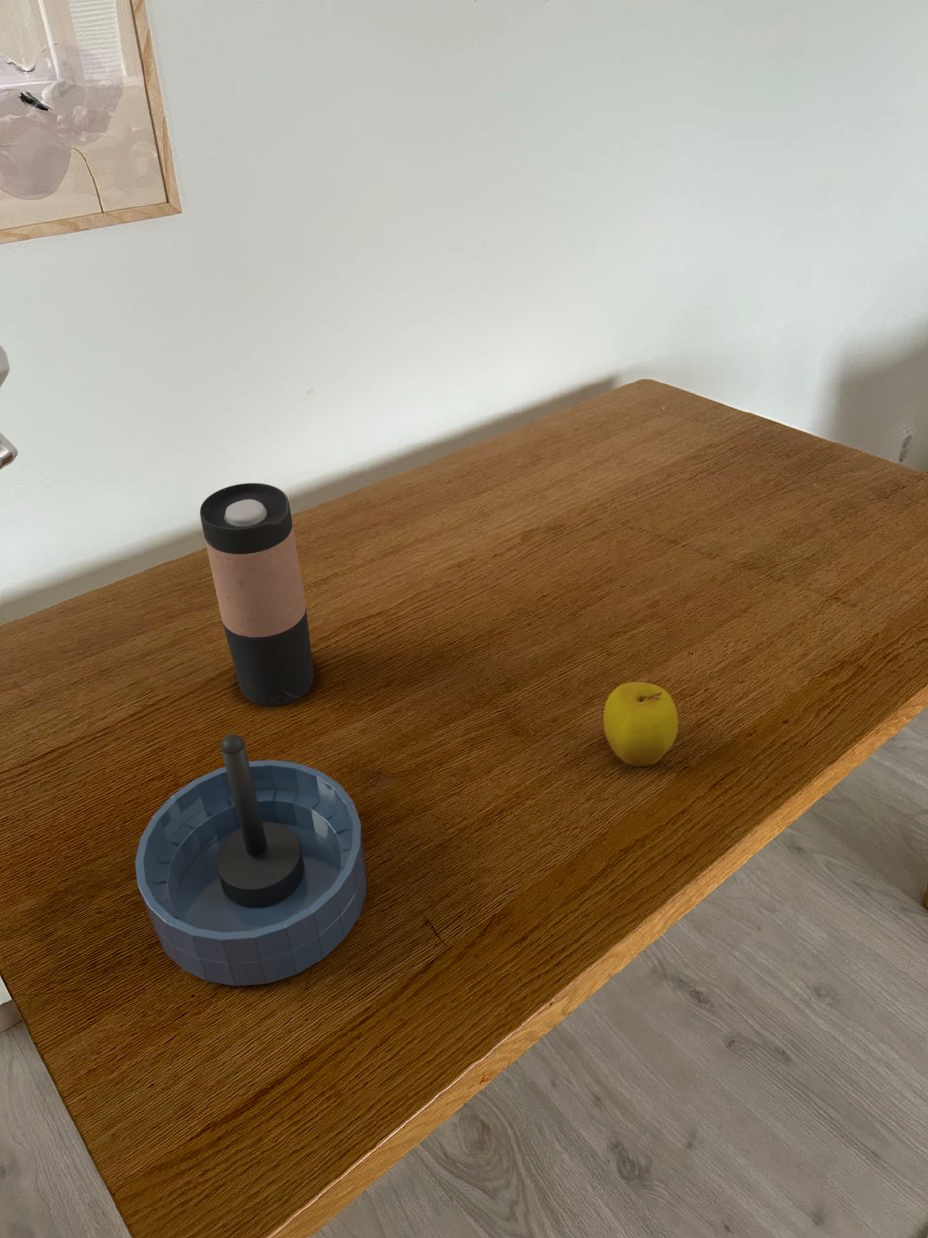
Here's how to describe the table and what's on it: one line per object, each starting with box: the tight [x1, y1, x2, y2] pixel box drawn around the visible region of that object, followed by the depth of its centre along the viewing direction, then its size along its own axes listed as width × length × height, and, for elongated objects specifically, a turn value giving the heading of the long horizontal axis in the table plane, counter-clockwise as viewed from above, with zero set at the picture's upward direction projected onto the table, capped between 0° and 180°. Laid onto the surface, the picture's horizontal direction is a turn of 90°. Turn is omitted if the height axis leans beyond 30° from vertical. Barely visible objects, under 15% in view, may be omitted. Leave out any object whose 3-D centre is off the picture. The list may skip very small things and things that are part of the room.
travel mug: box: [199, 482, 314, 707], centre depth 89 cm, size 8×8×20 cm
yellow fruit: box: [603, 681, 679, 767], centre depth 84 cm, size 6×6×8 cm
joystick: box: [216, 733, 304, 908], centre depth 72 cm, size 6×6×15 cm
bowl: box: [134, 759, 368, 987], centre depth 74 cm, size 16×16×6 cm
